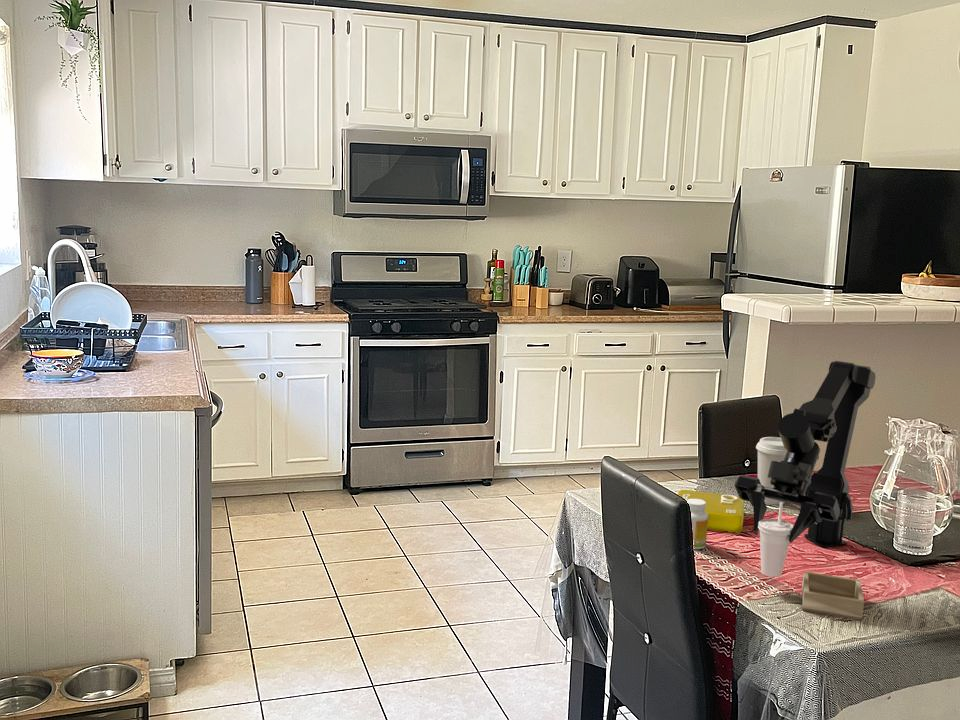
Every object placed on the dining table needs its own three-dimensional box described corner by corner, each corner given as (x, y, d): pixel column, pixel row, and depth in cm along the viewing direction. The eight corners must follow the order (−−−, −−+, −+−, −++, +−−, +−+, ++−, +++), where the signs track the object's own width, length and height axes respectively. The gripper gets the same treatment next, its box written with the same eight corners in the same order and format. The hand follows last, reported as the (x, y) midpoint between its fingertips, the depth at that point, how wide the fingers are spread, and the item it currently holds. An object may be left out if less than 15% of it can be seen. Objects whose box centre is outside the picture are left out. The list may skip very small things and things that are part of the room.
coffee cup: (796, 499, 228) (802, 440, 225) (786, 509, 220) (792, 449, 217) (757, 491, 233) (762, 433, 230) (746, 501, 225) (751, 442, 222)
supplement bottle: (706, 542, 198) (710, 499, 196) (704, 551, 192) (708, 507, 191) (681, 538, 199) (684, 495, 197) (678, 547, 194) (681, 503, 192)
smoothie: (791, 582, 170) (798, 509, 168) (755, 577, 172) (761, 506, 169) (787, 568, 177) (794, 498, 174) (752, 564, 178) (758, 495, 175)
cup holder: (801, 588, 176) (803, 571, 175) (858, 597, 173) (860, 579, 172) (802, 610, 167) (804, 592, 166) (861, 620, 164) (864, 601, 163)
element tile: (677, 505, 222) (678, 486, 221) (742, 513, 218) (744, 494, 217) (672, 526, 207) (674, 506, 206) (742, 535, 203) (744, 515, 203)
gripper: (742, 434, 178) (714, 504, 171) (841, 454, 167) (816, 529, 160) (754, 464, 186) (728, 532, 179) (850, 484, 175) (825, 557, 168)
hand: (772, 536), depth 172 cm, fingers closed on smoothie, 6 cm apart
